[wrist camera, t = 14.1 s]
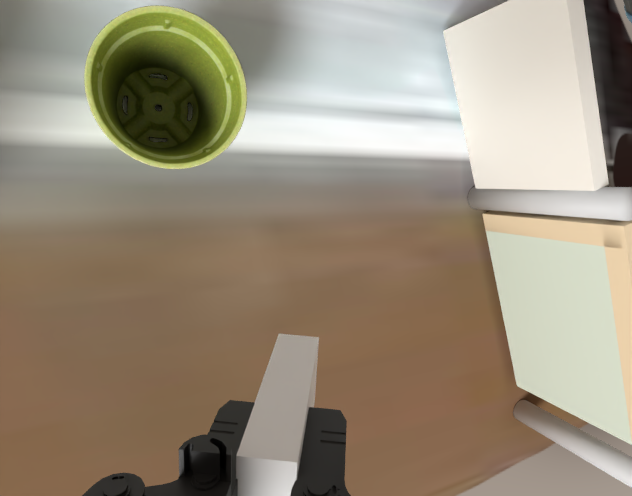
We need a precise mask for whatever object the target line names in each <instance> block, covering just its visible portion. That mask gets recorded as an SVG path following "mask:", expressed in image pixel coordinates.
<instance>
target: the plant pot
mask: <svg viewBox="0 0 632 496" xmlns="http://www.w3.org/2000/svg"><path fill="white" fill-rule="evenodd" d="M153 73H156V74H163V75H165V76H166V77H167V80H164V79H160V78H155V77H154V78H149V75H150V74H153ZM84 82H85V91H86V97H87V100H88V104H89V106H90V109H91V112H92V114H93V116H94V118H95V120H96V122H97V123H98V125H99V127H100V128H101V130H102V131H103V132H104V134H105V135H106V136H107V137H108V138H109V139H110V140H111V141H112V142H113V143H114V144H115V145H116V146H117V147H118V148H119V149H120V150H122V151H123V152H124V153H126V154H127V155H129V156H131V157H132V158H134V159H136V160H138V161H140V162H143V163H145V164H148V165H151V166H155V167H160V168H167V169H184V168H190V167H195V166H198V165H201V164H204V163H206V162H208V161H210V160H212V159H214V158H215V157H217V156H218V155H220V154H221V153H222V152H223V151H224V150H225V149H227V148H228V147H229V145H230V144H231V143H232V142H233V140H234V139H235V138H236V136H237V134H238V132H239V131H240V129H241V126H242V124H243V121H244V117H245V112H246V106H247V89H246V82H245V77H244V73H243V70H242V67H241V65H240V62H239V60H238V58H237V56H236V54H235V52H234V51H233V49H232V47H231V46H230V45H229V43H228V42H227V40H226V39H225V38H224V37H223V36H222V34H221V33H220V32H219V31H218V30H217V29H215V28H214V27H213V26H212V25H211V24H209V23H208V22H206V21H205V20H203V19H202V18H200V17H198V16H197V15H195V14H193V13H190V12H188V11H185V10H182V9H178V8H174V7H168V6H145V7H140V8H136V9H133V10H130V11H128V12H125V13H123V14H121V15H120V16H118V17H116V18H115V19H113V20H112V21H111V22H110V23H109V24H107V25H106V26H105V27H104V28H103V29H102V30H101V31H100V33H99V34H98V35H97V36H96V38H95V40H94V41H93V43H92V46H91V48H90V50H89V53H88V56H87V60H86V66H85V74H84ZM124 96H128V104H127V110H128V111H127V112H128V114H127V115H126V114H125V113H124V111H123V107H122V101H123V98H124ZM188 103H191V105H192V107H193V114H192V119H191V120H190V121H188V120H187V116H188V106H187V105H188ZM156 105H161V106H162V110H161V111H157V110H156V109H155V106H156ZM149 137H155V138H167V139H168V140H167V141H166V142H152V141H150V140H149Z"/></svg>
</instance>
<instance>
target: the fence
mask: <svg viewBox="0 0 632 496" xmlns="http://www.w3.org/2000/svg"><path fill="white" fill-rule="evenodd" d="M443 34H444V39H445V44H446V48H447V53H448V58H449V63H450V67H451V72H452V77H453V82H454V87H455V91H456V96H457V101H458V106H459V111H460V115H461V120H462V125H463V130H464V135H465V139H466V144H467V149H468V154H469V159H470V163H471V168H472V173H473V178H474V183H475V186H474V187H472V188H471V189H470V191H469V193H468V203H469V205H470V206H471V207H472V208H473V209H480V210H493V211H505V212H518V213H531V214H544V215H557V216H570V217H582V218H595V219H608V220H621V221H631V220H632V187H605V186H607V185H609V182H608V175H607V168H606V161H605V154H604V146H603V139H602V132H601V125H600V117H599V110H598V103H597V96H596V89H595V81H594V74H593V67H592V60H591V53H590V45H589V38H588V31H587V24H586V17H585V9H584V2H583V0H509V1H507V2H504V3H502V4H500V5H498V6H496V7H494V8H491V9H489V10H487V11H485V12H483V13H481V14H478V15H476V16H474V17H472V18H470V19H468V20H466V21H463V22H461V23H459V24H457V25H455V26H453V27H450V28H448V29H446V30H444V31H443ZM513 414H514V417H515V418H516V419H517V420H519V421H521V422H522V423H524V424H526V425H527V426H529V427H531V428H532V429H534V430H536V431H537V432H539V433H541V434H542V435H544V436H546V437H548V438H549V439H551V440H553V441H554V442H556V443H558V444H559V445H561V446H563V447H564V448H566V449H568V450H569V451H571V452H573V453H574V454H576V455H578V456H579V457H581V458H583V459H584V460H586V461H588V462H589V463H591V464H593V465H594V466H596V467H598V468H599V469H601V470H603V471H604V472H606V473H608V474H609V475H611V476H613V477H614V478H616V479H618V480H620V481H621V482H623V483H625V484H626V485H628V486H630V487H631V488H632V457H631V456H629V455H627V454H625V453H623V452H621V451H619V450H618V449H616V448H614V447H612V446H610V445H608V444H606V443H605V442H603V441H601V440H599V439H597V438H595V437H593V436H592V435H590V434H588V433H586V432H584V431H582V430H580V429H579V428H577V427H575V426H573V425H571V424H569V423H567V422H566V421H564V420H562V419H560V418H558V417H556V416H554V415H553V414H551V413H549V412H547V411H545V410H543V409H541V408H540V407H538V406H536V405H534V404H532V403H530V402H528V401H526V400H520V401H519V402H518V403H517V404H516V405H515V407H514V411H513Z"/></svg>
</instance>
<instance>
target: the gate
mask: <svg viewBox="0 0 632 496" xmlns="http://www.w3.org/2000/svg"><path fill="white" fill-rule="evenodd" d="M482 215H483V219H484V224H485V229H486V234H487V239H488V244H489V249H490V254H491V259H492V264H493V269H494V274H495V279H496V284H497V289H498V294H499V299H500V304H501V309H502V314H503V319H504V324H505V329H506V334H507V339H508V344H509V349H510V354H511V359H512V364H513V369H514V373H515V378H516V383H517V386H518V387H520V388H522V389H524V390H526V391H528V392H530V393H532V394H534V395H536V396H538V397H540V398H542V399H543V400H545V401H547V402H549V403H551V404H553V405H555V406H557V407H559V408H561V409H563V410H565V411H567V412H569V413H571V414H573V415H575V416H577V417H579V418H580V419H582V420H584V421H586V422H588V423H590V424H592V425H594V426H596V427H598V428H600V429H602V430H604V431H606V432H608V433H610V434H612V435H614V436H616V437H617V438H619V439H621V440H623V441H625V442H627V443H629V444H631V445H632V220H631V221H621V220H608V219H595V218H582V217H570V216H557V215H544V214H531V213H518V212H505V211H493V210H490V211H488V212H486V213H483V214H482Z"/></svg>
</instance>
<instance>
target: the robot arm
mask: <svg viewBox="0 0 632 496" xmlns="http://www.w3.org/2000/svg"><path fill="white" fill-rule="evenodd" d="M623 1H624V4H625V6H624V8H625V11H626V16H627V18H628V19H629V21H630V22H631V23H632V0H623ZM318 343H319V337H309V336H298V335H287V334H279V335H278V338H277V341H276V343H275V346H274V349H273V352H272V355H271V358H270V361H269V363H268V366H267V369H266V372H265V375H264V378H263V381H262V384H261V386H260V389H259V392H258V395H257V398H256V401H255V403H253V402H243V401H233V400H230V401H228V402H227V403H226V404H225V405H224V406H223V407H221V408H220V409H219V411H218V413H217V415H216V417H215V419H214V423H213V424H212V426H211V428H210V432H209V433H208V435H200V436H196V437H193V438H191V439H189V440H188V441H186V442H184V443H183V445H182V446H181V447H180V448H179V475H180V477H179V479H178V480H176V481H173V482H171V483H167V484H163V485H156V486H149V487H145V484H144V483H143V481H142V479H141V478H140V477H138V476H136V475H135V474H130V473H119V474H113V475H110V476H108V477H105V478H103V479H101V480H100V481H98V482H97V483H96V484H94V485H93V486H92V487H91V488H90V489H89V490H88V491H87V492H86V493H85V494H84V495H83V496H351V495H350V494H349V493H348V491H347V489H346V487H345V481H344V475H345V448H346V422H347V421H346V419H345V418H344V416H343V414H342V412H341V411H340V410H333V409H323V408H314V402H315V388H316V373H317V358H318Z"/></svg>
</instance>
